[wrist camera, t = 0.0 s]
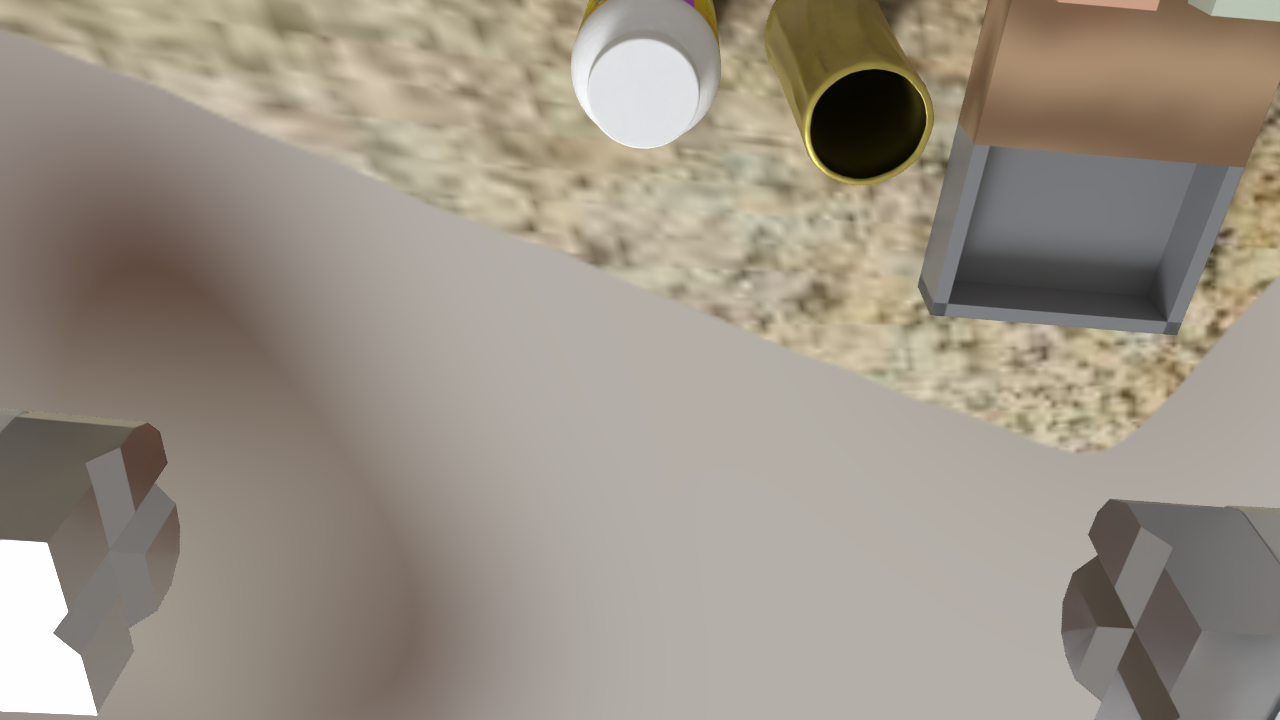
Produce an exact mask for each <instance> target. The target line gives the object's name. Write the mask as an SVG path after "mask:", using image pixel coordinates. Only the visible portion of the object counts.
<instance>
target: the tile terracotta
mask: <svg viewBox="0 0 1280 720" xmlns="http://www.w3.org/2000/svg"><path fill="white" fill-rule="evenodd" d="M1056 1H1057V2H1063V3H1074V4H1085V5H1097V6H1108V7H1119V8H1130V9H1142V10H1153V11H1156V10H1157V7H1158V4H1159V1H1160V0H1056Z"/></svg>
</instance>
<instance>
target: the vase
mask: <svg viewBox="0 0 1280 720" xmlns="http://www.w3.org/2000/svg"><path fill="white" fill-rule="evenodd" d="M765 48H766V52H767V56H768V59H769V62H770V63H771V65H772V67H773V69H774V70H775V72H776V74H777V75H778V78H779V80H780V82H781V84H782V87H783V90H784V93H785V95H786V98H787V101H788V103H789V106H790V108H791V110H792V113H793V116H794V118H795V121H796V123H797V125H798V128H799V130H800V133H801V136H802V139H803V142H804V145H805V148H806V151H807V154H808V156H809V157H810V159H811V160H812V161H813V163H814V164H815V165H816V166H817V167H818V168H819V169H820V170H821V171H822V172H823V173H824V174H826V175H827V176H829V177H831V178H833V179H835V180H838V181H840V182H843V183H846V184H850V185H870V184H876V183H878V182H881V181H884V180H887V179H889V178H892V177H894V176H896V175H898V174H900V173H901V172H903V171H904V170H905V169H907V168H908V167H909V166H910V165H911V164H913V163H914V162H915V161H916V160H917V159H918V158H919V156H920V155H921V154H922V152H923V150H924V148H925V146H926V144H927V141H928V139H929V137H930V134H931V131H932V128H933V121H934V114H933V106H932V101H931V98H930V95H929V92H928V90H927V88H926V85H925V83H924V82H923V81H922V80H921V78H920V77H919V75H918V74H917V72H916V70H915V69H914V67H913V66H912V64H911V63H910V61H909V60H908V58H907V57H906V55H905V53H904V52H903V50H902V48H901V47H900V45H899V43H898V41H897V39H896V37H895V36H894V34H893V32H892V30H891V28H890V26H889V24H888V22H887V20H886V18H885V16H884V14H883V12H882V11H881V9H880V5H879V1H878V0H777V1H776V3H775V4H774V6H773V8H772V10H771V12H770V14H769V17H768V20H767V24H766V29H765Z"/></svg>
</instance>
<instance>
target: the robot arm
mask: <svg viewBox="0 0 1280 720" xmlns="http://www.w3.org/2000/svg"><path fill="white" fill-rule="evenodd" d="M167 463H168V462H167V458H166V454H165V450H164V446H163V442H162V438H161V433H160V431H159V430H157V429H156V428H155V427H153V426H152V425H151V424H149V423H148V422H138V421H127V420H117V419H107V418H98V417H88V416H76V415H68V414H67V415H66V414H58V413H47V412H37V411H32V412H27V411H23V410H12V409H1V408H0V710H3V711H24V712H46V713H68V714H90V715H97V714H98V712H99V710H100V709H101V707H102V705H103V703H104V702H105V700H106V698H107V697H108V695H109V693H110V691H111V690H112V688H113V686H114V685H115V683H116V681H117V679H118V678H119V676H120V674H121V673H122V671H123V669H124V667H125V666H126V664H127V662H128V661H129V659H130V657H131V655H132V654H133V652H134V649H133V644H132V640H131V636H130V632H129V628H130V627H132V626H133V625H135V624H137V623H138V622H140V621H141V620H143V619H145V618H146V617H148V616H149V615H151V614H153V613H154V612H156V611H157V610H158V608H159V606H160V605H161V603H162V601H163V599H164V597H165V595H166V594H167V592H168V590H169V588H170V586H171V584H172V580H173V576H174V572H175V568H176V564H177V560H178V557H179V552H180V524H179V518H178V513H177V508H176V504H175V503H174V502H173V501H172V500H171V499H170V498H169V497H168V496H167V495H166V494H165V493H164V492H163V491H162V490H161V489H160V488H159V487H158V486H157V485H156V484H155V482H156V480H157V479H158V477H159V475H160V474H161V472H162V471H163V469H164V468H165V466H166V465H167ZM1088 535H1089V537H1090V539H1091V541H1092V544H1093V545H1094V548H1095V550H1096V552H1097V554H1098V555H1097V556H1096V557H1094V558H1093V559H1092V560H1090V561H1089V562H1088V563H1086V564H1085V565H1083V566H1082V567H1081V568H1079V569H1078V570H1077V571H1075V572H1074V573H1073V574H1072V577H1071V580H1070V583H1069V585H1068V588H1067V591H1066V594H1065V597H1064V600H1063V607H1062V628H1061V634H1062V639H1063V644H1064V649H1065V654H1066V658H1067V660H1068V663H1069V665H1070V668H1071V670H1072V673H1073V675H1074V678H1075V679H1076V681H1078V682H1079V683H1080V684H1081V685H1082V686H1084V687H1085V688H1086V689H1087V690H1088V691H1089V692H1091V693H1092V694H1093V695H1094V696H1095V697H1097V698H1098V699H1099V700H1100V701H1101V702H1102V703H1101V705H1100V707H1099V710H1098V712H1097V714H1096V717H1095V719H1094V720H1280V508H1264V507H1243V506H1226V507H1224V508H1223V507H1211V506H1198V505H1184V504H1170V503H1157V502H1144V501H1131V500H1130V501H1129V500H1117V499H1109V501H1107V502H1106V504H1105V505H1104V506H1103V507H1102V508H1101V509H1100V510H1099V511H1098V512H1097V515H1096V517H1095V520H1094V522H1093V525H1092V527H1091V529H1090V531H1089V534H1088Z"/></svg>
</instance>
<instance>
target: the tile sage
mask: <svg viewBox="0 0 1280 720" xmlns="http://www.w3.org/2000/svg"><path fill="white" fill-rule="evenodd" d="M1188 3H1189V4H1191V5H1193V6H1194V7H1196V8H1198V9H1200V10H1202V11H1203V12H1205V13H1207V14H1209V15H1211V16H1221V17H1232V18H1244V19H1255V20H1266V21H1277V22H1280V0H1188Z"/></svg>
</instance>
